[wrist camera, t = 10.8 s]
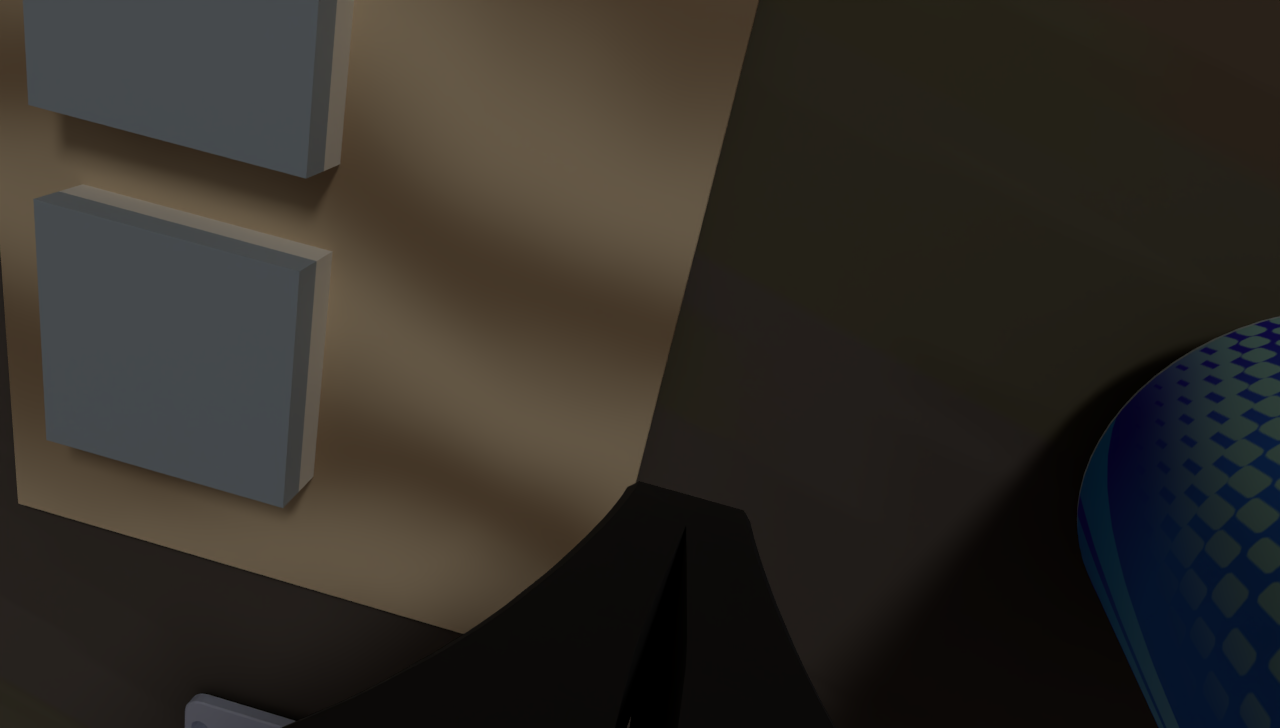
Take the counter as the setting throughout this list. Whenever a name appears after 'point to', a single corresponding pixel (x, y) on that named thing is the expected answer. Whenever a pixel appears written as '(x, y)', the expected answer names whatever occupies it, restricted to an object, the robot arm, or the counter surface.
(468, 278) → the cork mat
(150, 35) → the tile near
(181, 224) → the tile far
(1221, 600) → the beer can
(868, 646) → the counter surface
